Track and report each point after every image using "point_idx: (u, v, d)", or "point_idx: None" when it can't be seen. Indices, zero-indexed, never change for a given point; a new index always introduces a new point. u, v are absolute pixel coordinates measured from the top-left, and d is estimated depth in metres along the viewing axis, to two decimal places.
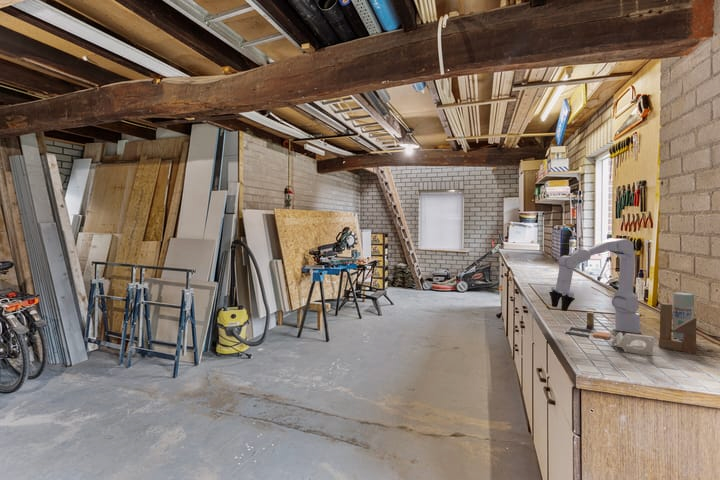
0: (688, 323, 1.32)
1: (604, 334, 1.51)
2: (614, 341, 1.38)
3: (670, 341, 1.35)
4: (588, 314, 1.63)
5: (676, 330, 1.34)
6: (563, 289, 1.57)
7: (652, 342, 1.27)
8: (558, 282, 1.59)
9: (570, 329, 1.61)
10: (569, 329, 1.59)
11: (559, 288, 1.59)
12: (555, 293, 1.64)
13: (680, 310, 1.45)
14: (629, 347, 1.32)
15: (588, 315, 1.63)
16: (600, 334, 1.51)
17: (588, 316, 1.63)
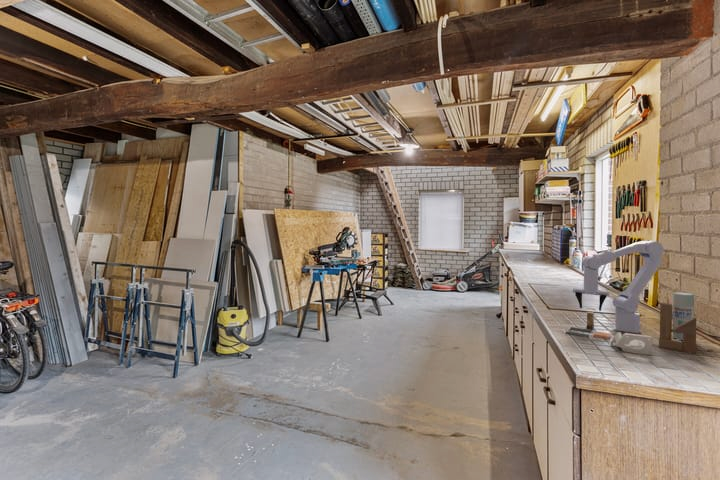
0: (688, 323, 1.32)
1: (604, 334, 1.51)
2: (613, 341, 1.39)
3: (670, 341, 1.35)
4: (588, 314, 1.63)
5: (676, 330, 1.34)
6: (596, 290, 1.61)
7: (651, 341, 1.28)
8: (591, 284, 1.61)
9: (570, 329, 1.61)
10: (569, 329, 1.59)
11: (593, 290, 1.60)
12: (581, 295, 1.65)
13: (680, 310, 1.45)
14: (628, 347, 1.32)
15: (588, 315, 1.63)
16: (600, 334, 1.51)
17: (588, 316, 1.63)
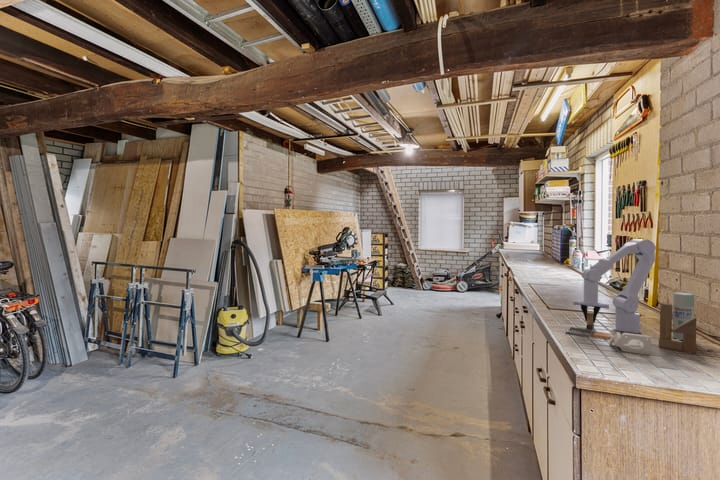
0: (688, 323, 1.32)
1: (604, 334, 1.51)
2: (612, 340, 1.39)
3: (670, 341, 1.35)
4: (588, 314, 1.63)
5: (676, 330, 1.34)
6: (596, 302, 1.61)
7: (649, 341, 1.28)
8: (591, 297, 1.61)
9: (570, 329, 1.61)
10: (569, 329, 1.59)
11: (593, 302, 1.61)
12: (586, 307, 1.64)
13: (680, 310, 1.45)
14: (626, 346, 1.33)
15: (589, 315, 1.63)
16: (600, 334, 1.51)
17: (588, 316, 1.63)
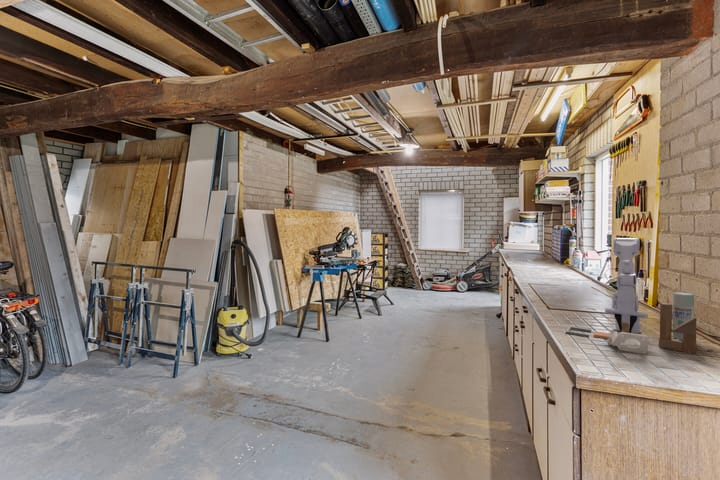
0: (688, 323, 1.32)
1: (604, 334, 1.51)
2: (610, 340, 1.40)
3: (670, 341, 1.35)
4: (623, 324, 1.46)
5: (676, 330, 1.34)
6: (633, 311, 1.44)
7: (646, 340, 1.29)
8: (626, 305, 1.44)
9: (570, 329, 1.61)
10: (569, 329, 1.59)
11: (629, 311, 1.43)
12: (621, 316, 1.47)
13: (680, 310, 1.45)
14: (624, 346, 1.34)
15: (624, 325, 1.46)
16: (600, 334, 1.51)
17: (623, 326, 1.46)
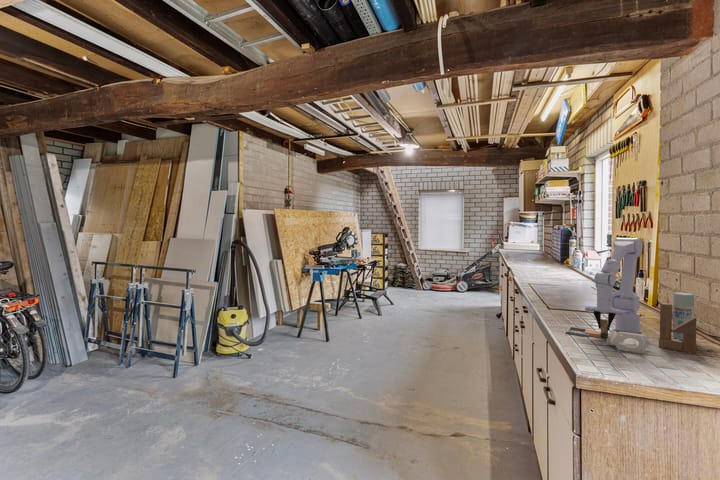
0: (688, 323, 1.32)
1: (595, 332, 1.54)
2: (609, 339, 1.41)
3: (670, 341, 1.35)
4: (602, 321, 1.51)
5: (676, 330, 1.34)
6: (611, 308, 1.48)
7: (644, 340, 1.29)
8: (605, 302, 1.49)
9: (570, 329, 1.61)
10: (569, 329, 1.59)
11: (608, 308, 1.48)
12: (600, 314, 1.52)
13: (680, 310, 1.45)
14: (622, 345, 1.34)
15: (602, 322, 1.51)
16: (591, 332, 1.54)
17: (602, 323, 1.51)
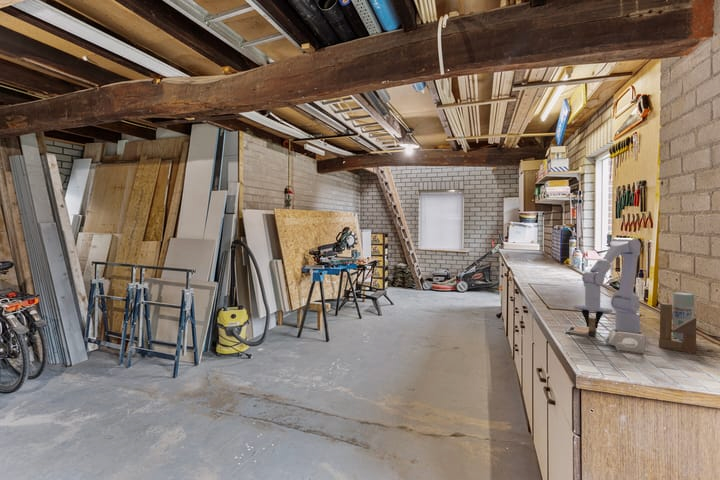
0: (688, 323, 1.32)
1: (583, 331, 1.56)
2: (608, 339, 1.41)
3: (670, 341, 1.35)
4: (590, 319, 1.54)
5: (676, 330, 1.34)
6: (599, 307, 1.51)
7: (643, 340, 1.29)
8: (593, 301, 1.51)
9: (570, 329, 1.61)
10: (569, 329, 1.59)
11: (595, 307, 1.51)
12: (588, 312, 1.54)
13: (680, 310, 1.45)
14: (621, 345, 1.35)
15: (590, 320, 1.54)
16: (579, 331, 1.56)
17: (590, 321, 1.54)
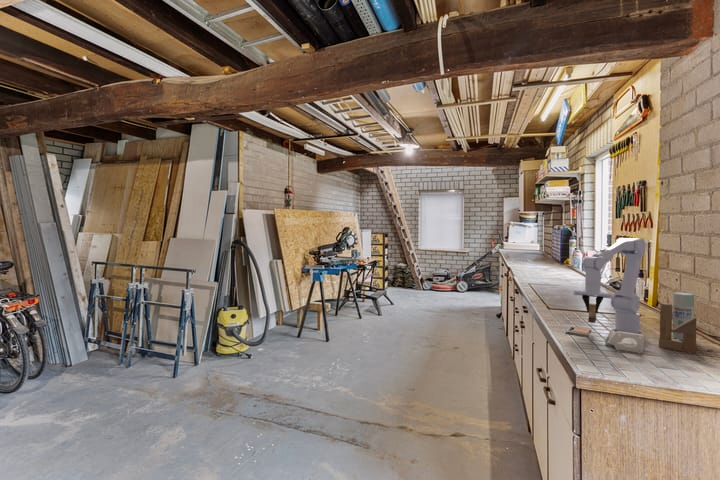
0: (688, 323, 1.32)
1: (583, 331, 1.56)
2: (607, 339, 1.41)
3: (670, 341, 1.35)
4: (590, 305, 1.53)
5: (676, 330, 1.34)
6: (599, 292, 1.51)
7: (642, 340, 1.30)
8: (593, 286, 1.51)
9: (570, 329, 1.61)
10: (569, 329, 1.59)
11: (596, 292, 1.51)
12: (588, 297, 1.54)
13: (680, 310, 1.45)
14: (620, 345, 1.35)
15: (591, 306, 1.53)
16: (579, 331, 1.57)
17: (590, 308, 1.53)
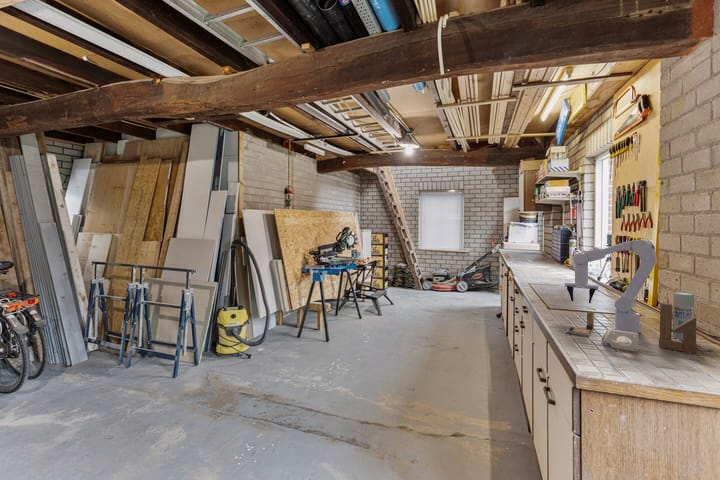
0: (688, 323, 1.32)
1: (583, 331, 1.56)
2: (603, 337, 1.43)
3: (670, 341, 1.35)
4: (588, 314, 1.63)
5: (676, 330, 1.34)
6: (586, 284, 1.71)
7: (636, 338, 1.31)
8: (581, 279, 1.72)
9: (570, 329, 1.61)
10: (569, 329, 1.59)
11: (583, 284, 1.71)
12: (572, 288, 1.76)
13: (680, 310, 1.45)
14: (615, 343, 1.37)
15: (588, 315, 1.63)
16: (579, 331, 1.57)
17: (588, 316, 1.63)
